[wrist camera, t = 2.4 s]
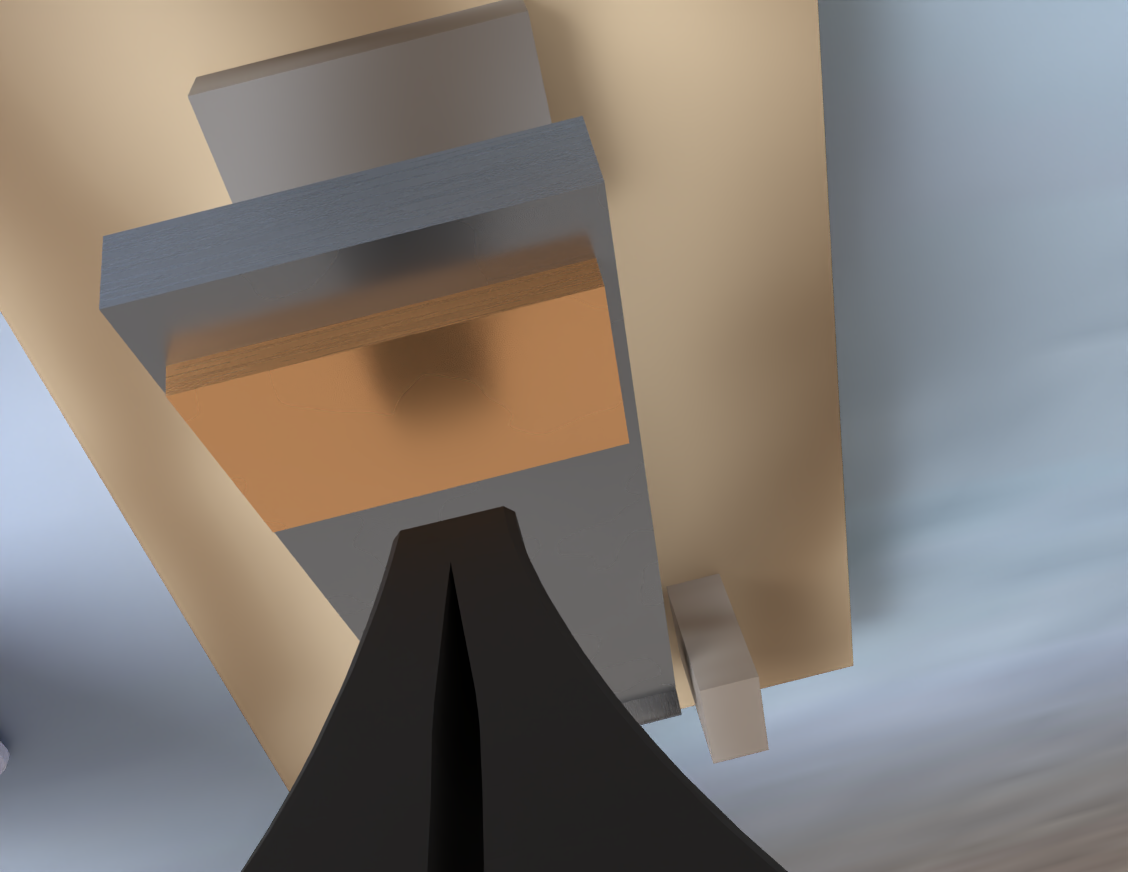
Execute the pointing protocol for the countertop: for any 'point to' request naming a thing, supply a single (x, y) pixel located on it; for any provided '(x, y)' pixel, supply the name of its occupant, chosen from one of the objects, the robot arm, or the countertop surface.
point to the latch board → (420, 127)
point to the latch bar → (419, 374)
